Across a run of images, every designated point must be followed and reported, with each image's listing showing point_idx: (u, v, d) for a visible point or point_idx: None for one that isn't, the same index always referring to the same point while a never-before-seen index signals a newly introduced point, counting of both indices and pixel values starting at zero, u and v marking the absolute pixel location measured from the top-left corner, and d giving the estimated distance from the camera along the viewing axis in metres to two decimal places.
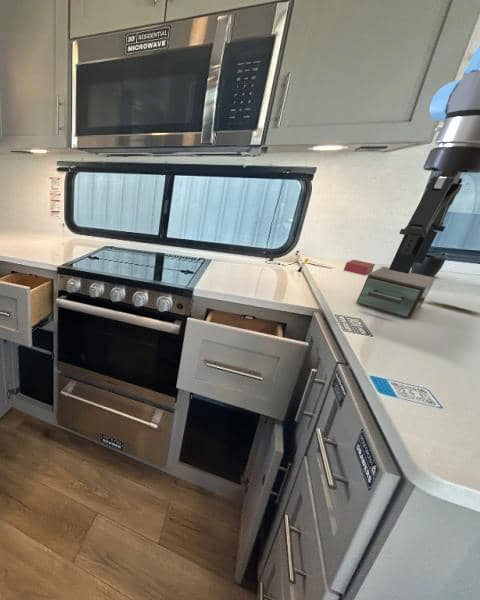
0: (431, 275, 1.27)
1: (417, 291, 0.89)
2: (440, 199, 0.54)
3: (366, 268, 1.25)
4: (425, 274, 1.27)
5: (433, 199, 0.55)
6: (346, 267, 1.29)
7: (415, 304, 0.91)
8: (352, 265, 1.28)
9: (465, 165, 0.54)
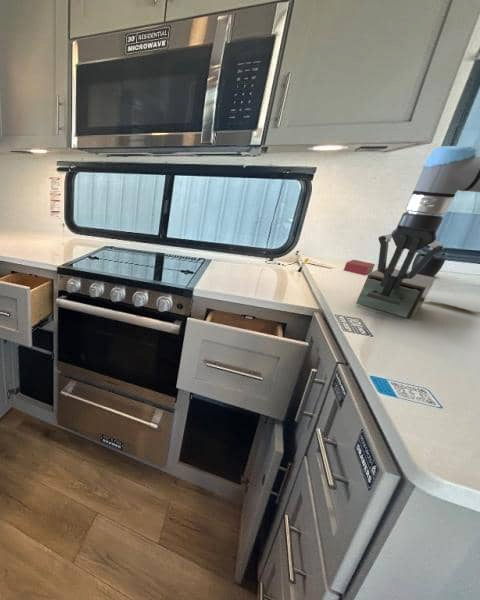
0: (431, 275, 1.27)
1: (416, 292, 0.89)
2: (430, 258, 0.85)
3: (366, 268, 1.25)
4: (425, 274, 1.27)
5: (429, 259, 0.84)
6: (346, 267, 1.29)
7: (415, 304, 0.91)
8: (352, 265, 1.28)
9: None
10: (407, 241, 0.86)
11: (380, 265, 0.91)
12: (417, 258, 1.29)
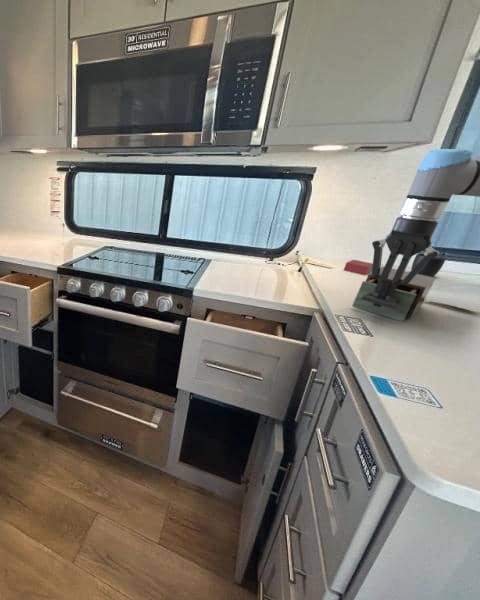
0: (431, 275, 1.27)
1: (413, 295, 0.86)
2: None
3: (366, 268, 1.25)
4: (425, 274, 1.27)
5: (424, 265, 0.82)
6: (346, 267, 1.29)
7: (415, 304, 0.91)
8: (352, 265, 1.28)
9: None
10: (401, 246, 0.83)
11: (374, 271, 0.88)
12: (417, 258, 1.29)
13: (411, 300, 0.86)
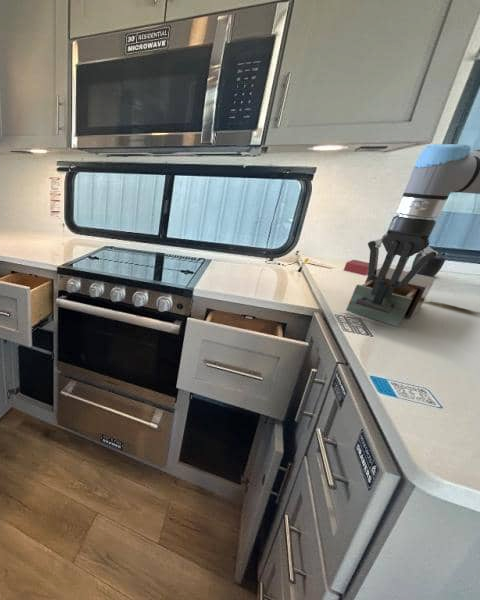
0: (431, 275, 1.27)
1: (408, 299, 0.83)
2: (423, 265, 0.79)
3: (366, 268, 1.25)
4: (425, 274, 1.27)
5: (422, 266, 0.78)
6: (346, 267, 1.29)
7: (415, 304, 0.91)
8: (352, 265, 1.28)
9: None
10: (398, 247, 0.80)
11: (370, 272, 0.85)
12: (417, 258, 1.29)
13: (406, 304, 0.83)
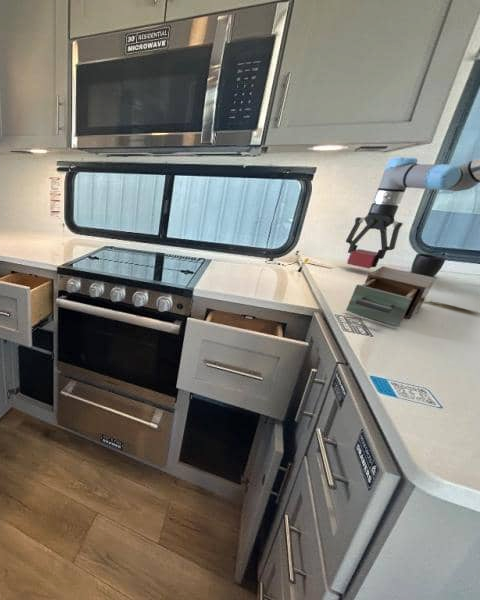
0: (431, 275, 1.27)
1: (408, 299, 0.83)
2: None
3: (372, 256, 1.22)
4: (425, 274, 1.27)
5: (397, 233, 1.19)
6: (351, 256, 1.27)
7: (415, 304, 0.91)
8: (358, 254, 1.26)
9: None
10: (375, 223, 1.22)
11: (349, 238, 1.29)
12: (417, 258, 1.29)
13: (406, 304, 0.83)
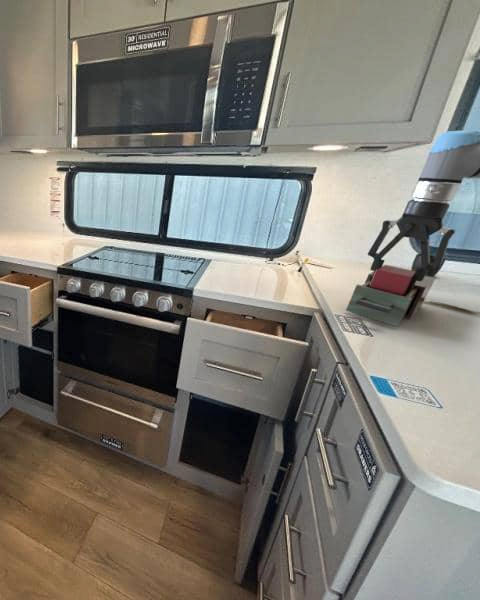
0: (431, 275, 1.27)
1: (408, 299, 0.83)
2: (447, 244, 0.81)
3: (408, 278, 0.84)
4: None
5: (447, 245, 0.81)
6: (376, 276, 0.89)
7: (415, 304, 0.91)
8: (386, 273, 0.87)
9: None
10: (413, 229, 0.84)
11: (372, 249, 0.91)
12: (417, 258, 1.29)
13: (406, 305, 0.83)
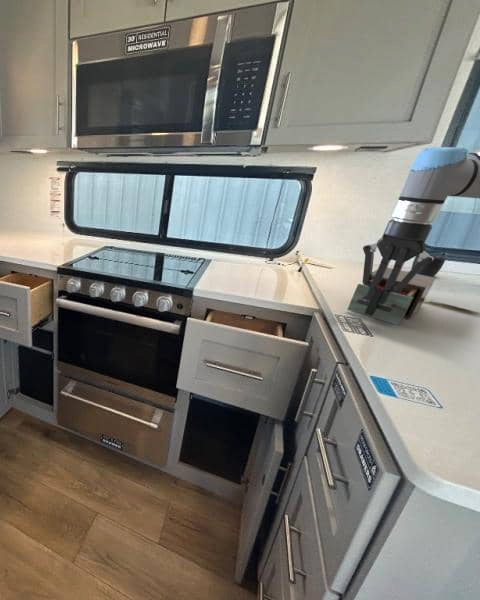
0: (431, 275, 1.27)
1: (409, 298, 0.83)
2: (419, 270, 0.77)
3: None
4: (425, 274, 1.27)
5: (418, 271, 0.76)
6: None
7: (415, 304, 0.91)
8: None
9: None
10: (394, 251, 0.78)
11: (365, 277, 0.83)
12: (417, 258, 1.29)
13: (407, 304, 0.84)
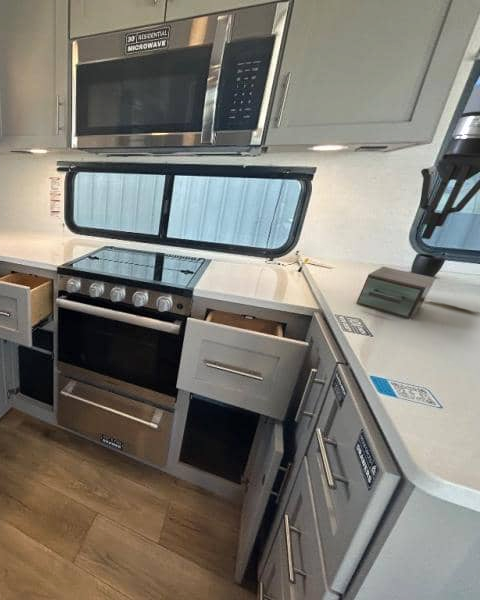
0: (431, 275, 1.27)
1: (417, 291, 0.90)
2: None
3: None
4: (425, 274, 1.27)
5: (479, 189, 0.78)
6: None
7: (415, 304, 0.91)
8: None
9: None
10: (454, 171, 0.79)
11: (423, 201, 0.84)
12: (417, 258, 1.29)
13: (416, 295, 0.90)
